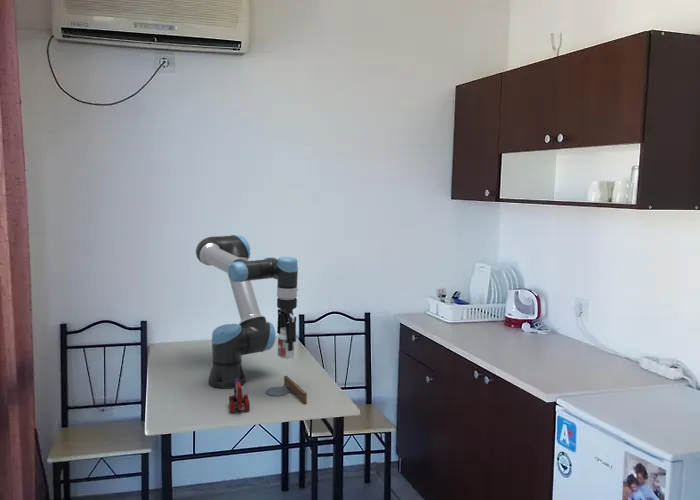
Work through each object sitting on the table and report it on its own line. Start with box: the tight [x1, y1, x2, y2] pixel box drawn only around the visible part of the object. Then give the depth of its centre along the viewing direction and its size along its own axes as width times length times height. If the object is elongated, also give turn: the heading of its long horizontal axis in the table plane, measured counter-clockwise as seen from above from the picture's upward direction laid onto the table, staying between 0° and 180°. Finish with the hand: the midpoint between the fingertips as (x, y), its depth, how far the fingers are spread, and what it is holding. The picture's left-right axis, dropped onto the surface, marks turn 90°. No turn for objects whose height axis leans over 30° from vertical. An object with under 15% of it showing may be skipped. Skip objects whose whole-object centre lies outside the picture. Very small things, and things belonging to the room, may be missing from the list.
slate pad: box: [265, 386, 290, 397], centre depth 240 cm, size 9×9×1 cm
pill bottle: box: [277, 327, 295, 359], centre depth 237 cm, size 6×6×11 cm
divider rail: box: [283, 375, 308, 405], centre depth 238 cm, size 1×22×4 cm, turn 26°
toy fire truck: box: [228, 379, 251, 413], centre depth 223 cm, size 7×12×10 cm, turn 14°
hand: (285, 355), depth 238 cm, fingers closed on pill bottle, 6 cm apart
